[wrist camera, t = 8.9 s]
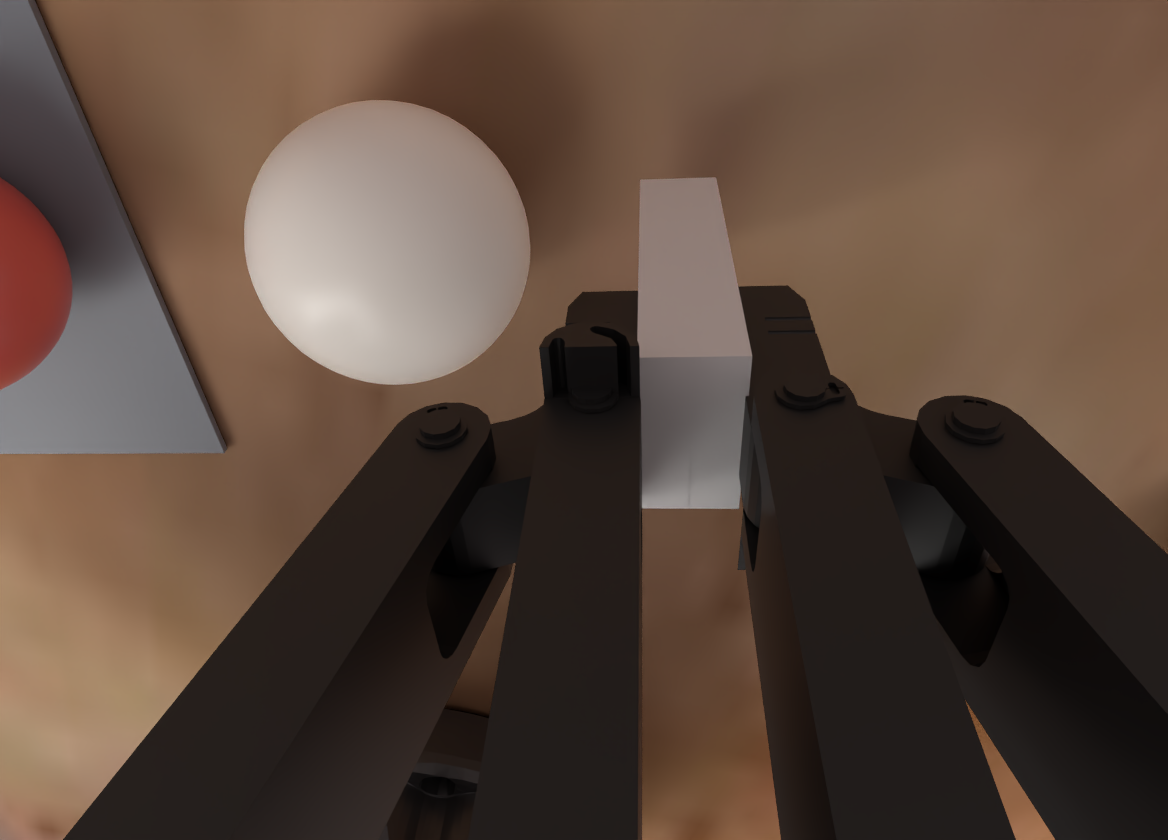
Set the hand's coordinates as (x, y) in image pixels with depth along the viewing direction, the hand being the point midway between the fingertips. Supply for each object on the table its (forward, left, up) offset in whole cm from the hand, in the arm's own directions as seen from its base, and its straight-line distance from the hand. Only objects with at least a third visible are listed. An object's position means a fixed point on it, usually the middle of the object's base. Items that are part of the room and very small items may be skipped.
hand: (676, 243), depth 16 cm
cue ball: (+3, +5, +1) cm, 6 cm away
